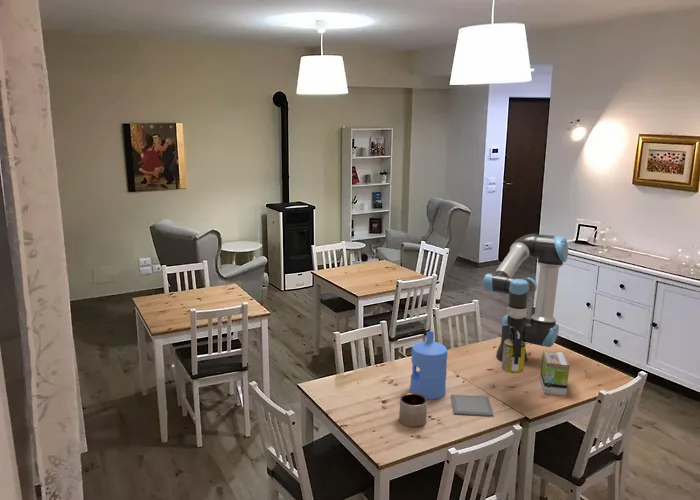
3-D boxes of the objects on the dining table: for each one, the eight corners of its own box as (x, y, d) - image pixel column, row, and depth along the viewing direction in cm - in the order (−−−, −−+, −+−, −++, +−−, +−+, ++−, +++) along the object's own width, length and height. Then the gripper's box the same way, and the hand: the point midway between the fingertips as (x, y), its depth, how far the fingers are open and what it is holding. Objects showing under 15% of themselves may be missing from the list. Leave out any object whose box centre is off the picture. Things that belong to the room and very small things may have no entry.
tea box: (567, 396, 255) (570, 365, 252) (543, 393, 257) (546, 362, 254) (561, 381, 269) (564, 351, 266) (539, 379, 271) (542, 349, 268)
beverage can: (508, 362, 255) (510, 337, 253) (527, 369, 249) (529, 342, 246) (497, 368, 249) (499, 342, 246) (516, 375, 243) (518, 348, 240)
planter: (397, 414, 238) (397, 393, 235) (423, 413, 239) (424, 392, 236) (401, 428, 227) (402, 406, 225) (428, 427, 228) (429, 405, 226)
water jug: (448, 387, 262) (451, 328, 256) (441, 402, 248) (444, 341, 241) (414, 381, 267) (416, 324, 261) (406, 396, 253) (408, 336, 246)
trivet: (450, 396, 254) (450, 394, 253) (487, 398, 252) (488, 396, 252) (453, 414, 238) (454, 412, 238) (493, 416, 237) (493, 414, 237)
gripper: (503, 307, 254) (499, 355, 260) (512, 324, 233) (508, 376, 239) (520, 308, 254) (516, 355, 259) (531, 325, 233) (526, 377, 238)
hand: (512, 365), depth 249 cm, fingers closed on beverage can, 9 cm apart
